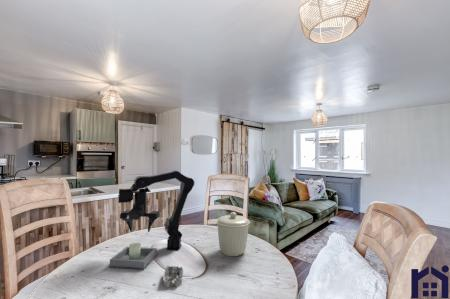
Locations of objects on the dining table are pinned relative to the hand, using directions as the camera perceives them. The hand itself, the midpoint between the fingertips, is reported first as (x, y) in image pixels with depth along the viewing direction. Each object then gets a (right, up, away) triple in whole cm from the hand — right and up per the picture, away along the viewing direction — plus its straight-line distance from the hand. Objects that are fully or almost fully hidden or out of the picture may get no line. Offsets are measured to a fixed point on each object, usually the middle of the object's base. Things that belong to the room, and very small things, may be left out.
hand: (139, 231), depth 111 cm
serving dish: (0, -11, -7) cm, 13 cm away
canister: (+48, -13, +4) cm, 49 cm away
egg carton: (+22, -12, -22) cm, 33 cm away
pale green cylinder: (0, -11, -7) cm, 13 cm away
